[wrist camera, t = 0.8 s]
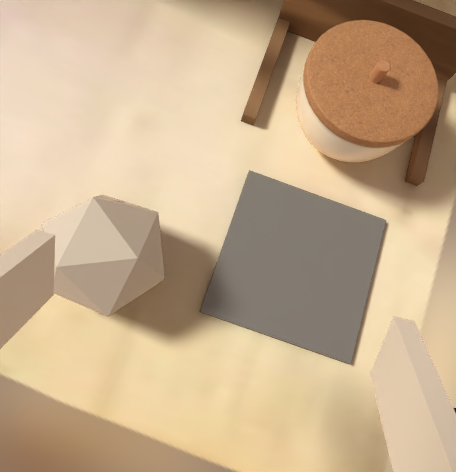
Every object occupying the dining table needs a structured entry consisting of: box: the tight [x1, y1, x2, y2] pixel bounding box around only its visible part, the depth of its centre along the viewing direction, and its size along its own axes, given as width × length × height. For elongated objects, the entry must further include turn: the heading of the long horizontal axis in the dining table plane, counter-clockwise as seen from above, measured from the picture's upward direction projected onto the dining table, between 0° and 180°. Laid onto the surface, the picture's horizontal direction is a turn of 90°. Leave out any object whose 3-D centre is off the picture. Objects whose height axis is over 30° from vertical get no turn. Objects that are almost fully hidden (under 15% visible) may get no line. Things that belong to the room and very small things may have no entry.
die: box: [42, 195, 165, 316], centre depth 32 cm, size 8×9×10 cm
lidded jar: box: [296, 20, 438, 162], centre depth 36 cm, size 11×11×9 cm
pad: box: [200, 170, 386, 364], centre depth 37 cm, size 13×13×1 cm
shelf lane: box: [241, 0, 456, 186], centre depth 38 cm, size 12×17×7 cm
